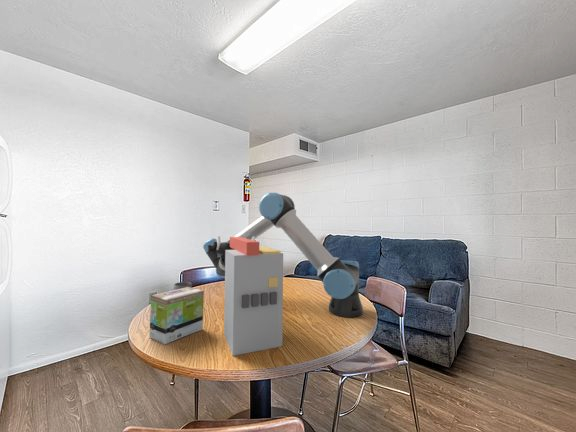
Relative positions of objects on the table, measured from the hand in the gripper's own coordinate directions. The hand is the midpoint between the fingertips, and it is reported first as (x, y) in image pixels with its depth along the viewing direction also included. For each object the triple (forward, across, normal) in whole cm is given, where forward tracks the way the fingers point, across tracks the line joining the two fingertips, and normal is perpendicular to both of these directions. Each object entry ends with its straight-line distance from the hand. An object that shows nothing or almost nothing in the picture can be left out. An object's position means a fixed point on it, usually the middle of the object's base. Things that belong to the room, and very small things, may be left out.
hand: (237, 239), depth 100 cm
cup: (-47, +19, -12) cm, 52 cm away
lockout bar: (+6, 0, -7) cm, 9 cm away
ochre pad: (+10, -7, -10) cm, 16 cm away
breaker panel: (-5, -2, -36) cm, 36 cm away
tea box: (-18, +21, -28) cm, 40 cm away
